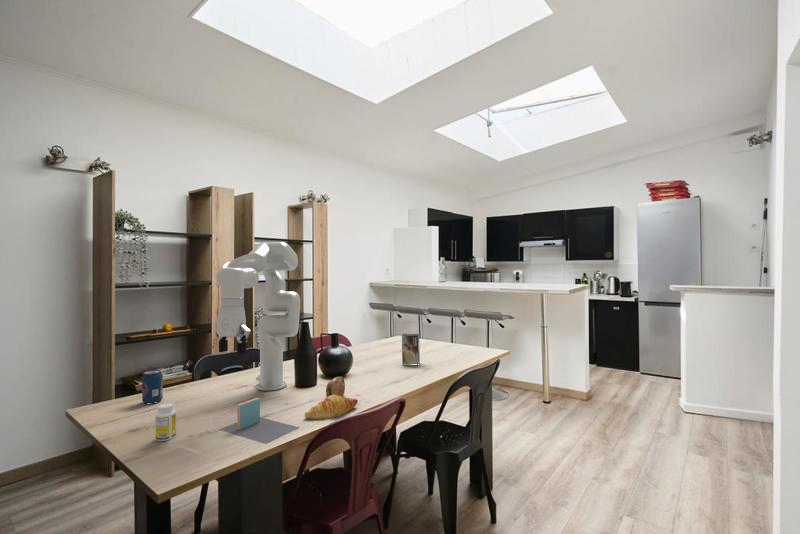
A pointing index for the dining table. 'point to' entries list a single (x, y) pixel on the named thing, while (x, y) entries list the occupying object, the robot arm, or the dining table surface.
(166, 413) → the supplement bottle
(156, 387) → the soda can
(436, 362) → the dining table surface
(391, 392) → the dining table surface
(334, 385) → the tin
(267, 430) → the mat
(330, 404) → the croissant
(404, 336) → the coffee box
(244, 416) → the tile
